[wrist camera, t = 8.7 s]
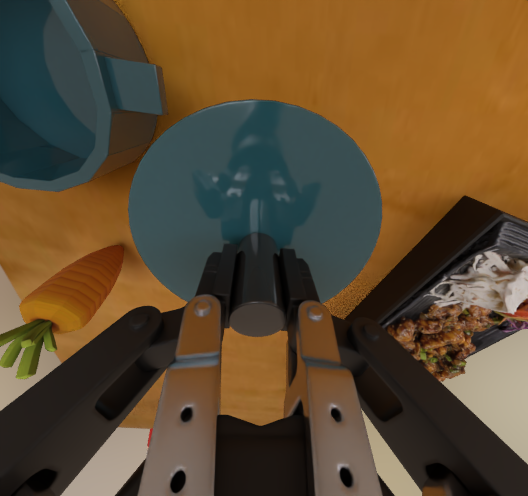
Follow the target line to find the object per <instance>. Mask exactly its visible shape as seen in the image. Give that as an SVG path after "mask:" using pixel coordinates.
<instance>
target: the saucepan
mask: <svg viewBox="0 0 528 496" xmlns="http://www.w3.org/2000/svg"><path fill="white" fill-rule="evenodd" d="M157 115H168V109H167V102H166V95H165V87H164V80H163V73H162V68H161V67H160V66H157V65H155V64H149V63H148V60H147V58H146V55H145V53H144V51H143V48H142V46H141V44H140V42H139V40H138V38H137V36H136V34H135V32H134V30H133V29H132V27H131V26H130V24H129V22H128V21H127V19H126V17H125V16H124V14H123V13H122V12H121V10H120V9H119V8H118V6H117V5H116V3H115V2H114V1H113V0H0V182H3V183H5V184H8V185H11V186H13V187H16V188H23V189H33V190H44V191H54V192H60V191H63V190H66V189H69V188H72V187H75V186H78V185H81V184H84V183H86V182H89V181H91V180H94V179H96V178H98V177H100V176H103V175H105V174H107V173H109V172H111V171H114V170H116V169H118V168H120V167H122V166H125V165H127V164H129V163H131V162H134V161H135V160H136V159H137V157H139V156H140V155H141V154H142V153H143V152H144V151H145V150H146V148H147V147H148V145H149V144H150V142H151V140H152V137H153V135H154V131H155V128H156V122H157Z"/></svg>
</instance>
